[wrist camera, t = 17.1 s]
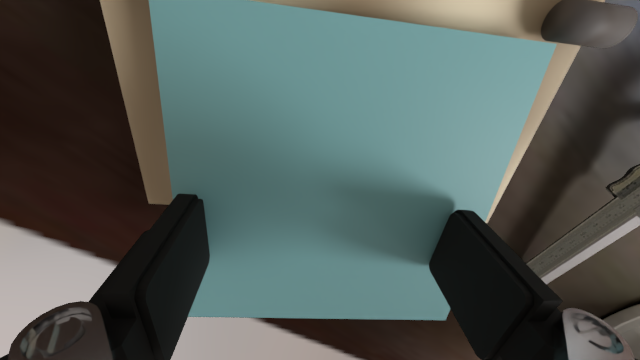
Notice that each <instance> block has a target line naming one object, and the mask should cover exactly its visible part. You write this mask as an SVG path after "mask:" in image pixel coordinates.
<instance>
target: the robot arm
mask: <svg viewBox="0 0 640 360" xmlns="http://www.w3.org/2000/svg"><path fill="white" fill-rule="evenodd" d="M209 260H210V252H209V244H208V235H207V227H206V219H205V211H204V203H203V200H202V199H198V196H197V195H196V194H177V195H176V197H175V198H174V199H173V200H172V202H171V203H170V204H169V206H168V207H167V208H166V210H165V211H164V212H163V213H162V215H161V216H160V217H159V219H158V220H157V221H156V223H155V224H154V225H153V226H152V228H151V229H150V230H148V231H145V232H144V233H143V234H142V235H141V236H140V238H139V239H138V240H137V241H136V243H135V244H134V245H133V246H132V248H131V249H130V250H129V251H128V253H127V254H126V255H125V256H124V258H123V259H122V260H121V261H120V263H119V264H118V265H117V267H116V268H115V269H114V270H113V272H112V273H111V274H110V276H109V277H108V278H107V279H106V280H105V282H104V283H103V284H102V285H101V287H100V288H99V289H98V290H97V292H96V293H95V294H94V295H93V297H92V298H91V300H90V301H89V302H81V301H80V302H74V303H68V304H65V305H62V306H59V307H56V308H54V309H52V310H50V311H48V312H46V313H44V314H42V315H41V316H39V317H38V318H36V319H35V320H33V321H32V322H31V323H29V324H28V325H27V326H26V327H25V328H24V329H23V330H22V331H21V332H20V333H19V334H18V335H17V337H16V338H15V340H14V341H13V343H12V344H11V348H10V351H9V354H7V355H5V356H3V357H2V358H0V360H170V359H171V356H172V355H173V352H174V350H175V347H176V345H177V342H178V340H179V337H180V335H181V332H182V330H183V327H184V325H185V322H186V320H187V317H188V315H189V312H190V310H191V307H192V305H193V302H194V300H195V297H196V295H197V292H198V290H199V287H200V285H201V282H202V280H203V277H204V275H205V272H206V270H207V267H208V264H209ZM429 269H430V272H431V274H432V276H433V277H434V279H435V281H436V283H437V285H438V286H439V288H440V290H441V292H442V294H443V296H444V297H445V299H446V301H447V303H448V305H449V306H450V308H451V310H452V312H453V314H454V316H455V317H456V319H457V321H458V323H459V325H460V326H461V328H462V330H463V332H464V334H465V336H466V337H467V339H468V341H469V343H470V345H471V346H472V348H473V350H474V352H475V354H476V355H477V356H478V357H479V358H480V359H482V360H640V304H638V305H634V306H631V307H629V308H626V309H624V310H621V311H619V312H617V313H615V314H613V315H611V316H608V317H606V318H605V319H603V320H602V319H600V318H598V317H596V316H595V315H593V314H591V313H589V312H586V311H584V310H581V309H576V308H567V309H565V310H564V311H563V312H562V313H561V312H560V311H559V310H558V309H557V307H558V306H559V305H560V303H561V302H562V300H561V299H560V298H559V297H558V296H557V295H556V294H555V293H554V292H553V291H552V290H551V289H550V288H549V287H548V286H547V285H546V284H545V283H544V282H543V281H542V280H541V279H540V278H539V277H538V276H537V275H536V273H535V272H534V271H533V270H532V269H531V268H530V267H529V266H528V265H527V264H526V263H525V262H524V261H523V260H522V259H521V258H520V257H519V256H518V255H517V254H516V253H515V252H514V251H513V250H512V249H511V248H510V247H509V246H508V245H507V244H506V243H505V242H504V241H503V240H502V239H501V238H500V237H499V236H498V235H497V234H496V233H495V232H494V231H493V230H492V229H491V228H490V227H489V226H488V225H487V224H486V223H485V222H484V221H483V220H482V219H481V218H480V217H479V216H478V215H477V214H476V213H475V212H474V211H471V210H456V211H455V212H454V213H452V214H450V216H449V218H448V221H447V223H446V225H445V227H444V230H443V232H442V234H441V237H440V239H439V241H438V243H437V246H436V248H435V250H434V253H433V255H432V257H431V260H430V262H429Z"/></svg>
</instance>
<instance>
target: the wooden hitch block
mask: <svg viewBox="0 0 640 360" xmlns="http://www.w3.org/2000/svg"><path fill="white" fill-rule="evenodd" d="M250 1H257V2H264V3H271V4H278V5H285V6H292V7H300V8H307V9H314V10H321V11H328V12H335V13H342V14H349V15H356V16H363V17H370V18H377V19H384V20H392V21H399V22H406V23H413V24H420V25H427V26H434V27H441V28H448V29H455V30H462V31H469V32H476V33H483V34H491V35H498V36H505V37H512V38H519V39H526V40H533V41H540V42H547V43H554V44H557V45H556V48H555V50H554V53H553V55H552V57H551V60H550V62H549V65H548V67H547V70H546V72H545V75H544V77H543V80H542V82H541V85H540V87H539V90H538V92H537V95H536V97H535V100H534V102H533V105H532V107H531V110H530V112H529V115H528V117H527V120H526V122H525V125H524V127H523V130H522V132H521V134H520V137H519V139H518V142H517V144H516V147H515V149H514V152H513V154H512V157H511V159H510V162H509V164H508V167H507V169H506V172H505V174H504V177H503V179H502V182H501V184H500V187H499V189H498V192H497V194H496V197H495V199H494V202H493V204H492V206H491V209H490V211H489V214H488V216H487V219H486V221H485V223H488V221H489V219H490V217H491V215H492V214H493V212H494V210H495V208H496V206H497V204H498V202H499V200H500V198H501V197H502V195H503V193H504V191H505V189H506V187H507V185H508V183H509V181H510V179H511V178H512V176H513V174H514V172H515V170H516V168H517V166H518V164H519V162H520V160H521V159H522V157H523V155H524V153H525V151H526V149H527V147H528V145H529V143H530V142H531V140H532V138H533V136H534V134H535V132H536V130H537V128H538V126H539V124H540V123H541V121H542V119H543V117H544V115H545V113H546V111H547V109H548V107H549V105H550V104H551V102H552V100H553V98H554V96H555V94H556V92H557V90H558V88H559V87H560V85H561V83H562V81H563V79H564V77H565V75H566V73H567V71H568V69H569V68H570V66H571V64H572V62H573V60H574V58H575V56H576V54H577V52H578V51H579V49H580V47H581V46H585V47H592V48H599V49H606V48H610V47H613V46H615V45H617V44H618V43H620V42H621V41H623V40H624V39H625V38H626V37H627V36H628V35H629V34H630V33H631V31H632V30H633V29H634V27H635V25H636V22H637V19H638V14H637V11H636V10H635V9H634V8H633V7H629V6H623V5H617V4H611V3H604V1H605V0H250ZM100 3H101V7H102V12H103V16H104V20H105V24H106V28H107V32H108V36H109V41H110V45H111V49H112V53H113V57H114V61H115V66H116V70H117V74H118V78H119V82H120V86H121V91H122V95H123V99H124V103H125V107H126V111H127V115H128V120H129V124H130V128H131V132H132V136H133V140H134V145H135V149H136V153H137V157H138V161H139V165H140V170H141V174H142V178H143V182H144V186H145V190H146V194H147V199H148V203H149V204H165V205H169V204H170V203H171V202H172V200H173V198H172V190H171V181H170V173H169V165H168V156H167V148H166V140H165V132H164V123H163V115H162V107H161V99H160V90H159V82H158V74H157V65H156V57H155V49H154V41H153V32H152V24H151V16H150V7H149V0H100Z"/></svg>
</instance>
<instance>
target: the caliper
mask: <svg viewBox="0 0 640 360" xmlns="http://www.w3.org/2000/svg"><path fill="white" fill-rule="evenodd" d="M606 190H607V191H608V192H610V193H611V194H612V195H613V196H614V197H615V198H614V199H612V200H611V201H610V202H608V203H607V204H606V205H604V206H603V207H602V208H600V209H599V210H598V211H596V212H595V213H593V214H592V215H591V216H589V217H588V218H587V219H585V220H584V221H583V222H581V223H580V224H579V225H577V226H576V227H575V228H573V229H572V230H570V231H569V232H568V233H566V234H565V235H564V236H562V237H561V238H560V239H558V240H557V241H556V242H554V243H553V244H552V245H550V246H549V247H547V248H546V249H545V250H543V251H542V252H541V253H539V254H538V255H537V256H535V257H534V258H532V259H531V260H530V261H528V262H527V263H526V264H527V265H528V266H529V267H530V268H531V269H532V270H533V271H534V272H535V273H536V275H537V276H538V277H539V278H540V279H541V280H542V281H543V282H544V283H545V284H548V283H549V282H551V281H552V280H554V279H555V278H557V277H559V276H560V275H562V274H563V273H565V272H567V271H568V270H570V269H571V268H573V267H574V266H576V265H578V264H579V263H581V262H582V261H584V260H586V259H587V258H589V257H590V256H592V255H593V254H595V253H597V252H598V251H600V250H601V249H603V248H605V247H606V246H608V245H609V244H611V243H612V242H614V241H616V240H617V239H619V238H620V237H622V236H624V235H625V234H627V233H628V232H630V231H631V230H633V229H635V228H636V227H638V226H639V225H640V164H639V165H636V166H634V167H632V168H630V169H629V170H628V171H627V172H626V174H625V175H624V176H623V177H622V178H621V179H619V180H617V181H615V182H613V183H611V184H609V185H608V186H607V187H606Z"/></svg>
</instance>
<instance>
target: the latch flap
mask: <svg viewBox="0 0 640 360" xmlns="http://www.w3.org/2000/svg"><path fill="white" fill-rule="evenodd" d="M149 7H150V16H151V24H152V32H153V41H154V49H155V57H156V65H157V74H158V82H159V90H160V99H161V107H162V115H163V123H164V132H165V140H166V148H167V156H168V165H169V173H170V181H171V190H172V198H173V199H174V198H175V197H176V195H177V194H196V195H197V196H198V199H202V200H203V203H204V211H205V219H206V227H207V235H208V244H209V252H210V260H209V264H208V267H207V270H206V272H205V275H204V277H203V280H202V282H201V285H200V287H199V290H198V292H197V295H196V297H195V300H194V302H193V305H192V307H191V310H190V312H189V315H188V317H248V318H317V319H387V320H446V318H447V316H448V313H449V311H450V306H449V305H448V303H447V301H446V299H445V297H444V296H443V294H442V292H441V290H440V288H439V286H438V285H437V283H436V281H435V279H434V277H433V276H432V274H431V272H430V269H429V262H430V260H431V257H432V255H433V253H434V250H435V248H436V246H437V243H438V241H439V239H440V237H441V234H442V232H443V230H444V227H445V225H446V223H447V221H448V218H449V216H450V214H452V213H454V212H455V211H456V210H471V211H474V212H475V213H476V214H477V215H478V216H479V217H480V218H481V219H482V220H483V221H484V222H485V221H486V219H487V216H488V214H489V211H490V209H491V206H492V204H493V202H494V199H495V197H496V194H497V192H498V189H499V187H500V184H501V182H502V179H503V177H504V174H505V172H506V169H507V167H508V164H509V162H510V159H511V157H512V154H513V152H514V149H515V147H516V144H517V142H518V139H519V137H520V134H521V132H522V130H523V127H524V125H525V122H526V120H527V117H528V115H529V112H530V110H531V107H532V105H533V102H534V100H535V97H536V95H537V92H538V90H539V87H540V85H541V82H542V80H543V77H544V75H545V72H546V70H547V67H548V65H549V62H550V60H551V57H552V55H553V53H554V50H555V48H556V45H557V44H554V43H547V42H540V41H533V40H526V39H519V38H512V37H505V36H498V35H491V34H483V33H476V32H469V31H462V30H455V29H448V28H441V27H434V26H427V25H420V24H413V23H406V22H399V21H392V20H384V19H377V18H370V17H363V16H356V15H349V14H342V13H335V12H328V11H321V10H314V9H307V8H300V7H292V6H285V5H278V4H271V3H264V2H257V1H250V0H149Z"/></svg>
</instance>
